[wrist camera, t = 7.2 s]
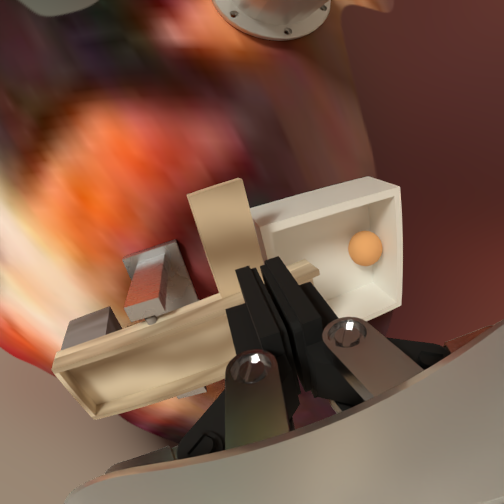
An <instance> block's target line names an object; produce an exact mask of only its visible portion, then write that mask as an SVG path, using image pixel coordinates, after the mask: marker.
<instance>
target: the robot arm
mask: <svg viewBox="0 0 504 504" xmlns="http://www.w3.org/2000/svg"><path fill="white" fill-rule="evenodd" d="M212 2H213V4H214V6H215V8H216V10H217V11H218V13H219V14H220V15H221V16H222V17H223V18H224V19H225V20H226V21H227V22H228V23H230V24H231V25H232V26H233V27H235V28H237V29H238V30H240V31H242V32H244V33H246V34H249V35H251V36H254V37H257V38H262V39H266V40H276V41H283V40H293V39H297V38H301V37H303V36H305V35H308V34H310V33H311V32H313V31H314V30H316V29H317V28H318V27H319V26H320V25H322V24H323V22H324V21H325V19H326V18H327V16H328V14H329V11H330V5H331V0H212ZM232 15H233V16H235V18H233V17H231V16H232ZM284 32H286V33H287V35H286V34H285V33H284ZM264 263H265V265H261V266H260V269H261V273H262V277H263V281H264V283H263V281H262V279H261V277H260V275H259V273H258V271H257V269H256V267H255V268H252V269H251V268H250V266H245V267H242V268H239V269H236V270H235V272H236V275H237V279H238V282H239V285H240V288H241V292H242V295H243V298H244V301H245V303H243V304H240V305H237V306H234V307H231V308H227V309H225V310H226V315H227V319H228V323H229V327H230V332H231V336H232V340H233V344H234V348H235V352H236V356H235V357H234V358H233V359H232V360H230V362H229V363H228V365H227V367H226V371H225V390H224V391H223V392H222V393H221V394H220V395H219V397H218V398H217V399H216V400H215V401H214V403H213V404H212V405H211V406H210V407H209V409H208V410H207V411H206V412H205V413H204V414H203V415H202V417H201V418H200V419H199V420H198V421H197V422H196V424H195V425H194V426H193V427H192V428H191V429H190V430H189V431H188V433H187V434H186V435H185V436H184V437H183V438H182V440H181V441H180V443H179V445H178V446H176V447H174V448H170V447H169V446H167V447H164V448H162V449H159V450H156V451H153V452H150V453H148V454H145V455H142V456H139V457H136V458H133V459H130V460H127V461H123V462H120V463H117V464H115V465H113V466H111V467H110V468H109V469H108V470H107V471H106V473H105V475H101V476H99V477H96V478H94V479H92V480H89V481H87V482H85V483H83V484H82V485H80V486H78V487H77V488H76V489H74V490H73V491H72V492H71V493H70V494H69V495H68V497H67V498H66V500H65V502H64V504H504V320H502V321H500V322H498V323H496V324H495V325H491V326H486V327H484V328H481V329H479V330H476V331H474V332H471V333H469V334H466V335H463V336H461V337H458V338H455V339H453V340H450V341H447V342H445V343H444V346H440V345H437V344H433V343H424V342H415V341H408V340H400V339H393V338H386V337H384V336H383V335H382V334H381V333H380V332H378V331H377V330H376V329H375V328H374V327H372V326H371V325H370V324H369V323H368V322H366V321H364V320H363V319H360V318H357V317H342V318H338V317H337V315H336V314H335V313H334V311H333V310H332V309H331V307H330V306H329V305H328V304H327V302H326V301H325V300H324V298H323V297H322V296H321V294H320V293H319V292H318V291H317V289H316V288H315V287H314V285H313V284H312V283H311V282H307V283H304V284H301V285H299V284H298V283H297V281H296V280H295V279H294V277H293V276H292V274H291V273H290V271H289V270H288V269H287V267H286V266H285V264H284V263H283V261H282V260H281V259H280V257H279V256H277V257H274V258H271V259H268V260H265V261H264ZM297 375H298V377H299V380H300V382H301V384H302V386H303V388H304V390H305V392H307V391H310V390H311V392H312V394H313V396H314V398H316V397H321V398H325V399H329V402H330V404H331V406H332V407H333V409H334V410H335V411H336V413H337V414H335V415H333V416H331V417H328V418H326V419H323V420H320V421H318V422H315V423H313V424H310V425H307V426H304V427H302V428H299V429H296V430H295V426H294V421H293V417H292V416H293V414H294V413H295V411H296V409H297V408H298V406H299V404H300V402H299V398H298V395H299V394H301V391H300V387H299V382H298V377H297Z"/></svg>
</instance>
